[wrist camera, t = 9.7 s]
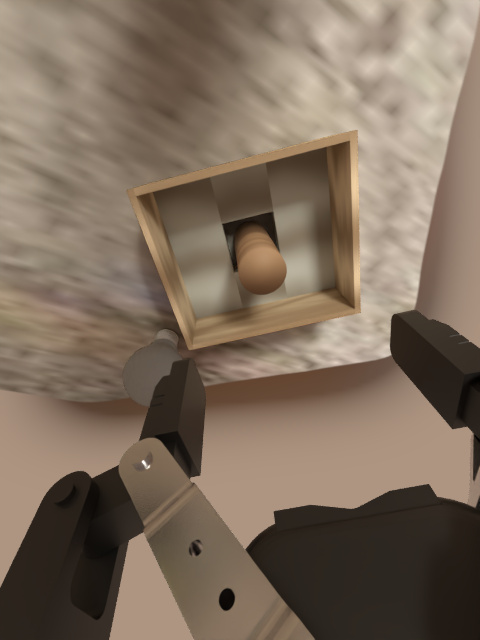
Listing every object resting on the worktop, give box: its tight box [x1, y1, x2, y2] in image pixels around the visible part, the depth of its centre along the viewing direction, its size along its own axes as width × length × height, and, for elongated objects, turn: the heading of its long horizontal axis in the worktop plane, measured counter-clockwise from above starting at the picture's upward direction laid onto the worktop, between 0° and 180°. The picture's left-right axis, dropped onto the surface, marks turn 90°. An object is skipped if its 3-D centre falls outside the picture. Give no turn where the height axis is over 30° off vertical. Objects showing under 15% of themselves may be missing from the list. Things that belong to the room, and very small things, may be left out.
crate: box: [126, 130, 361, 350], centre depth 26 cm, size 14×16×7 cm
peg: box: [234, 221, 287, 295], centre depth 24 cm, size 3×3×10 cm
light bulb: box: [123, 329, 183, 407], centre depth 29 cm, size 6×6×10 cm
